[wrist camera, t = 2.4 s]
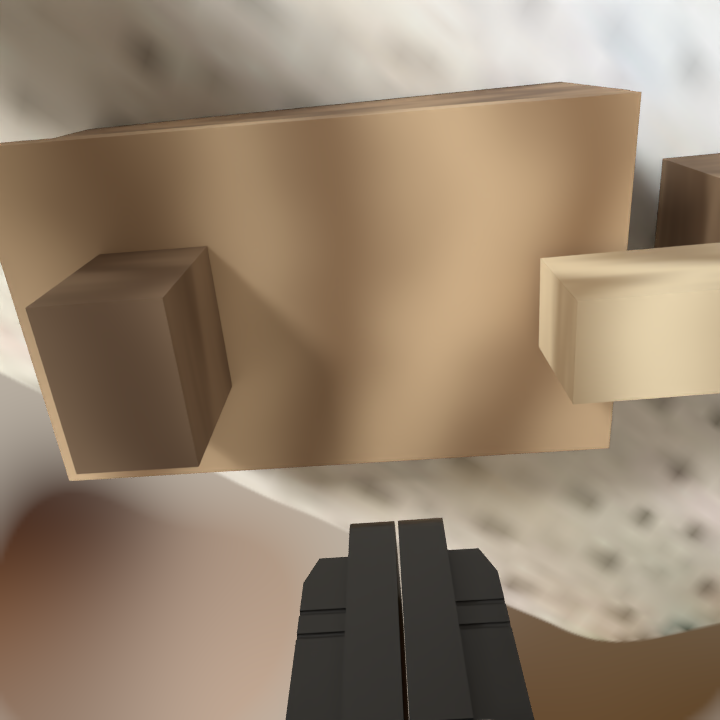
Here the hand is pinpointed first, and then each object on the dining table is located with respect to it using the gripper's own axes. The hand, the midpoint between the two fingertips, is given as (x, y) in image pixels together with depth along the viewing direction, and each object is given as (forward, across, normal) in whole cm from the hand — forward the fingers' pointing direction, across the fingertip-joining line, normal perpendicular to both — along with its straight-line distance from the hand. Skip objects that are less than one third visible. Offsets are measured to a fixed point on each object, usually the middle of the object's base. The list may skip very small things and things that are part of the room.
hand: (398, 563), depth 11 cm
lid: (+13, +2, 0) cm, 13 cm away
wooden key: (+12, -11, 0) cm, 16 cm away
